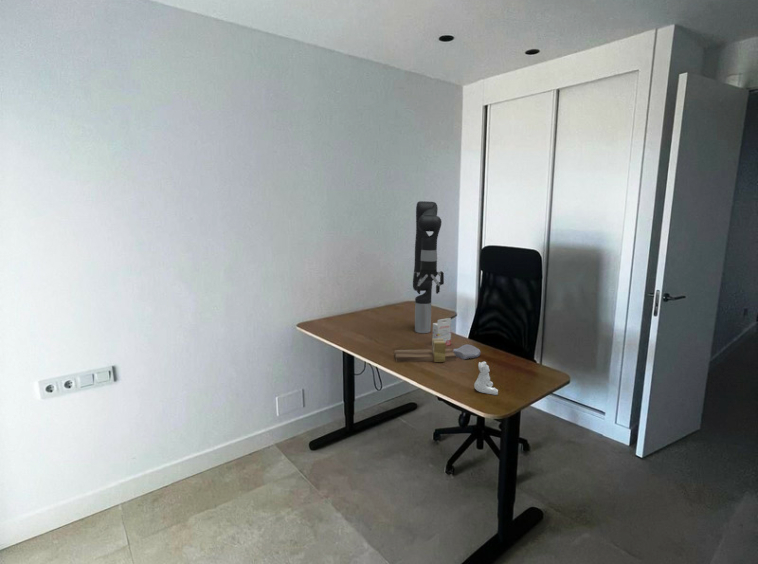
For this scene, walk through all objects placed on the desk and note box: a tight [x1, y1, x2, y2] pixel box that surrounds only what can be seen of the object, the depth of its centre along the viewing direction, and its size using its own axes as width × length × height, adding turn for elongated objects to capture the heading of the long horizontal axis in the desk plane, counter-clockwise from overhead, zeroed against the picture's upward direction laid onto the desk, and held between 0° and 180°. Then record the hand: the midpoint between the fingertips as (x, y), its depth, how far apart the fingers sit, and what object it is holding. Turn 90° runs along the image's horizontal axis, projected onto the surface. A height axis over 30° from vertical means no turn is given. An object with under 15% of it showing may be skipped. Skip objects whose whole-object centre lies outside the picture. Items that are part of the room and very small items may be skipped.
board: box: [394, 348, 457, 363], centre depth 203 cm, size 10×28×2 cm, turn 94°
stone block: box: [452, 343, 481, 360], centre depth 206 cm, size 12×5×10 cm
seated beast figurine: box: [473, 360, 499, 396], centre depth 167 cm, size 10×9×12 cm
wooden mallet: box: [431, 338, 446, 363], centre depth 204 cm, size 15×5×9 cm, turn 4°
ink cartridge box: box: [432, 317, 452, 346], centre depth 221 cm, size 9×5×15 cm, turn 115°
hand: (428, 293), depth 199 cm, fingers open, 8 cm apart
